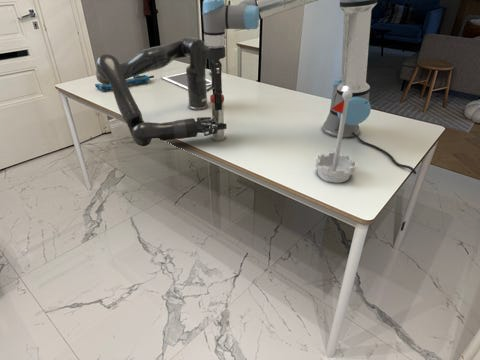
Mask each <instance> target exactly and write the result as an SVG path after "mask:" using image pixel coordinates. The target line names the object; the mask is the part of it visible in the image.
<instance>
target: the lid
mask: <svg viewBox="0 0 480 360" xmlns="http://www.w3.org/2000/svg"><path fill="white" fill-rule="evenodd" d="M221 97H222V102H223V103H225V96H224V94H223V93H222V94H221ZM209 100H210V103H211V102H212V103H215V100H214V95H213V94H211V95H210V97H209Z"/></svg>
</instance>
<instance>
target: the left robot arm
mask: <svg viewBox="0 0 480 360" xmlns="http://www.w3.org/2000/svg"><path fill="white" fill-rule="evenodd" d="M205 47H206V46H205V44H204V40H202V39H201V38H197V37H193V36H188V37H185V38H182V39H180V40H177V41H174V42H171V43H167V44H162V45H158V46H157V45H155V46H152V47H148V48H145V49H143V50H140V51H139V52H138V53H136V54H135V55H133V56H132V57H131V58H129V59H127V60H126V61H124V62H121V63H120V61H119V59H118V58H117V57H116V56H114V55H112V54H109V53H103V54H101V55H99V56H98V58H97V59H96V63H95V76H96V77H95V78H96V80H97V81H98V82H99V84H105V85H111V87H112V89H111V90H112V93H113V96H114V99H115V103H116V105H117V108H118V110H119V112H120V114H121V116H122V117H123V120H124V121H125V123H126V124H127V127H128V130H129V132H130V135H131V137H132V139H133V141H134V143H135V144H136V145H138V146H140V147H146V146H149V145H150V144H151V143H152V139H158V140H160V141H170V140H171V141H172V140H182V139H183V140H184V139H190V138H195V137H197V136H198V134H203V136H204V137H208V136H211V135H213V134H215V133H217V131H218V130H221V129H224V130H226V129H227V123H226V122H224V124H217V125H214V124H212V116H211V117H210V116H208V117H207V116H205V117H204V116H203V117H196V119H195V118H192V117H191V118H185V119H178V120H174V121H167V122H153V121H151V122H149V121H144V118H143V114H142V112H141V110H140V108H139V105H138V104H137V102H136V100H135V99H134V97H133V95H132V92H131V90H130V88H129V85H127V83H126V79H132V78H133V76H136V75H140V76H141V75H144V74H146V73H150V72H153V71H158V70H160V69H163V68H165V67H167V66H168V65H170V64H171V63H172V62H173V61H176V60H178V59H182V58H183V59H184V58H189V65H188V66H186V68H185V72H186V74H187V85H188V90H187V94H188V108H189V109H190V110H194V111H199V110H205V109H207V108H208V93H207V91H209V90H211V89H213V87H212V85H210V86H209V88H207V86H206V79H207V76H206V74H207V73H206V69H207V65H208V61H207V60H208V58H206V57H205ZM209 74H210V75H211V72H209Z"/></svg>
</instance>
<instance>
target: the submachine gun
mask: <svg viewBox="0 0 480 360" xmlns="http://www.w3.org/2000/svg"><path fill="white" fill-rule="evenodd" d="M153 78H155V75H147V74H140V75H136V76H133V77H132V78H128V79H126V83H127V85H128V86H132V85H136V84H137V85H138V84H140V83H147V82H148V81H150V79H153ZM94 86H95V88H97V90H99V91H101V92H104V91H107V90H109V91H111V90H112V87H111V85H105V84H102V83H94Z"/></svg>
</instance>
